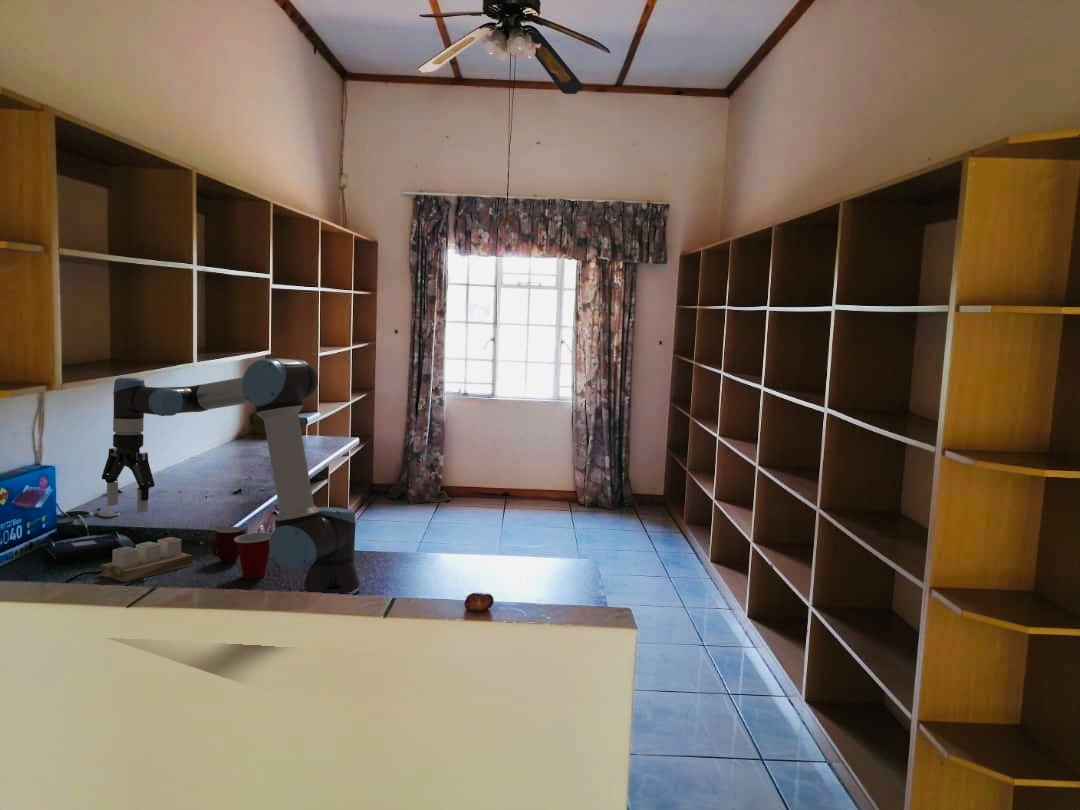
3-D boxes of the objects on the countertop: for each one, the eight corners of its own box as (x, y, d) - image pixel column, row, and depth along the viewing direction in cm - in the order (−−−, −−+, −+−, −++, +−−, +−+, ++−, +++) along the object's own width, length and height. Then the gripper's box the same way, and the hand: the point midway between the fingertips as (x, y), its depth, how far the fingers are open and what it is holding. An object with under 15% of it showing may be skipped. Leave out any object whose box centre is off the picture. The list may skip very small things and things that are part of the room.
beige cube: (181, 555, 230) (181, 538, 230) (167, 559, 226) (167, 541, 226) (171, 553, 232) (171, 536, 232) (157, 556, 228) (157, 539, 228)
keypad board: (191, 564, 230) (191, 555, 230) (126, 582, 211) (126, 571, 211) (167, 558, 235) (167, 549, 235) (101, 575, 216) (101, 564, 216)
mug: (227, 568, 228) (227, 535, 227) (203, 565, 229) (204, 533, 229) (248, 559, 238) (249, 528, 237) (225, 557, 240) (226, 525, 239)
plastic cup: (240, 570, 226) (240, 530, 226) (277, 571, 227) (278, 531, 226) (227, 581, 216) (228, 539, 215) (266, 582, 216) (267, 540, 216)
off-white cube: (138, 566, 218) (138, 548, 217) (122, 570, 213) (122, 551, 213) (127, 563, 220) (127, 545, 219) (112, 567, 216) (112, 548, 215)
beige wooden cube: (160, 561, 224) (160, 543, 223) (145, 564, 220) (146, 546, 219) (149, 558, 226) (150, 540, 225) (135, 561, 222) (135, 543, 221)
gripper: (169, 436, 212) (167, 512, 213) (113, 428, 223) (112, 500, 225) (144, 438, 205) (143, 517, 207) (88, 429, 217) (87, 504, 218)
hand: (127, 508), depth 216 cm, fingers open, 12 cm apart
